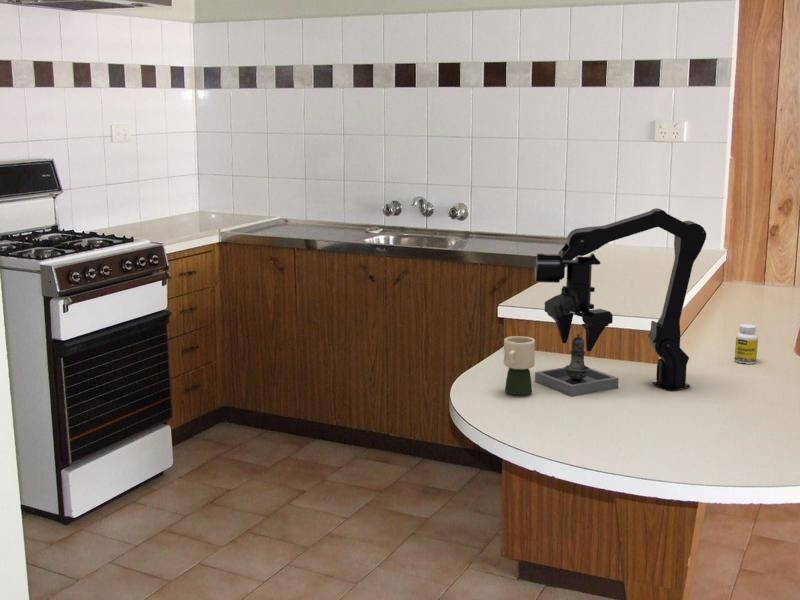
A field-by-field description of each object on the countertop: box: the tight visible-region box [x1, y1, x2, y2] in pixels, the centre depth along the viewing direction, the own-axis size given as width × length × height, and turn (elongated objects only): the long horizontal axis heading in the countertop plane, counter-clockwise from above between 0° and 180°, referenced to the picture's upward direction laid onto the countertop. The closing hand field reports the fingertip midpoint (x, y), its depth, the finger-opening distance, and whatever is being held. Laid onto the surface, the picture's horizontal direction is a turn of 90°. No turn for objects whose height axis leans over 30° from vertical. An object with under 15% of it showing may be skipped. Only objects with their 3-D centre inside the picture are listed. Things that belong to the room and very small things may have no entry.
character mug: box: [503, 335, 536, 396], centre depth 216 cm, size 11×7×13 cm, turn 149°
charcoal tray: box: [534, 366, 620, 398], centre depth 224 cm, size 14×14×2 cm
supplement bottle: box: [734, 323, 759, 365], centre depth 243 cm, size 5×5×10 cm
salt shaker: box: [564, 333, 590, 385], centre depth 223 cm, size 6×6×12 cm
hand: (576, 347), depth 222 cm, fingers open, 9 cm apart
